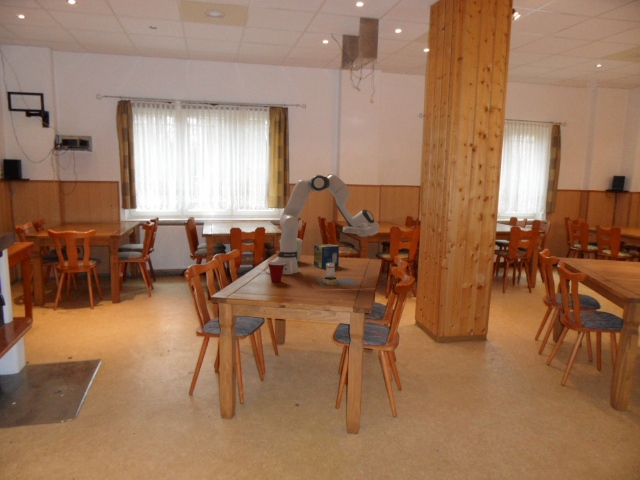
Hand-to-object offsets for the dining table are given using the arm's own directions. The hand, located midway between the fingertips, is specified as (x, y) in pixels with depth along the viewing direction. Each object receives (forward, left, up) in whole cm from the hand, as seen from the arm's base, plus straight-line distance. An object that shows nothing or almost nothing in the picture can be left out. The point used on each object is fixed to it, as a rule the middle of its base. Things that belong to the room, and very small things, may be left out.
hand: (349, 231), depth 290 cm
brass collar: (-16, -20, -30) cm, 39 cm away
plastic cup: (-47, -8, -30) cm, 57 cm away
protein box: (-8, +38, -30) cm, 49 cm away
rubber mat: (-11, -17, -30) cm, 36 cm away
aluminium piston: (-16, -20, -29) cm, 38 cm away
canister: (-32, +57, -30) cm, 72 cm away
